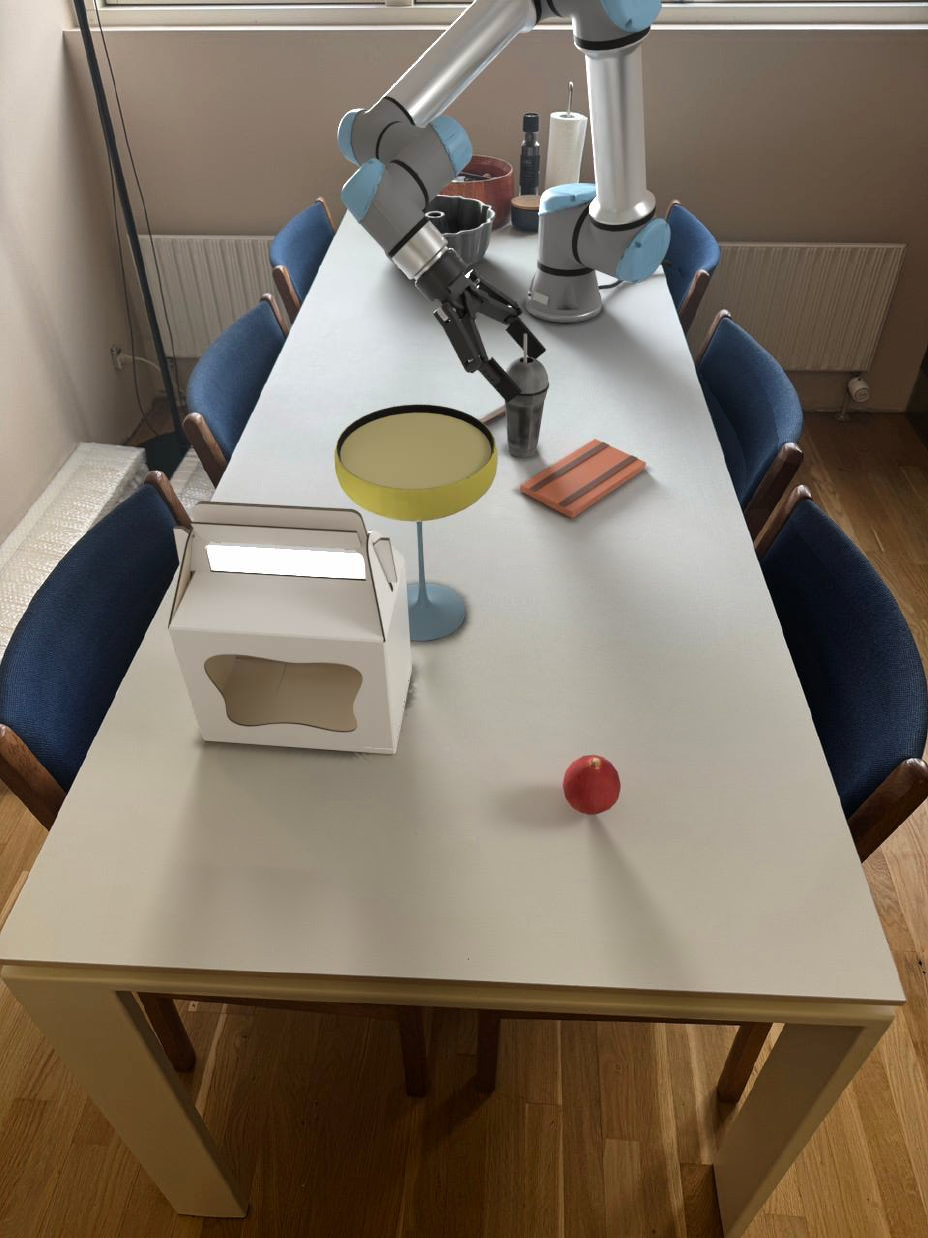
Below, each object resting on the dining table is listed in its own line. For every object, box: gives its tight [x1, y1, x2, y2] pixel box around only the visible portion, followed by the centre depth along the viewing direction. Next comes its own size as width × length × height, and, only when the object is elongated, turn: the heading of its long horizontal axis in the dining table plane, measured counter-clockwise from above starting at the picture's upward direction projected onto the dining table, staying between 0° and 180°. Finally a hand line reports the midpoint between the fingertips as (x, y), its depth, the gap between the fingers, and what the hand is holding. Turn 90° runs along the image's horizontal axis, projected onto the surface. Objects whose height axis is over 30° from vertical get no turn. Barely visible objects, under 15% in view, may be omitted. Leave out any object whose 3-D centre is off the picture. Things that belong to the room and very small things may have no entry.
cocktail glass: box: [334, 403, 499, 642], centre depth 107 cm, size 18×18×25 cm
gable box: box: [167, 500, 413, 755], centre depth 95 cm, size 22×13×28 cm, turn 85°
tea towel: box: [520, 438, 647, 519], centre depth 137 cm, size 18×10×1 cm, turn 136°
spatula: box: [477, 404, 506, 426], centre depth 149 cm, size 21×6×1 cm, turn 136°
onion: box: [562, 754, 622, 816], centre depth 91 cm, size 6×6×8 cm
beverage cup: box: [504, 334, 550, 458], centre depth 137 cm, size 7×7×20 cm
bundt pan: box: [384, 194, 496, 268], centre depth 199 cm, size 26×26×10 cm
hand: (527, 375), depth 135 cm, fingers open, 13 cm apart
